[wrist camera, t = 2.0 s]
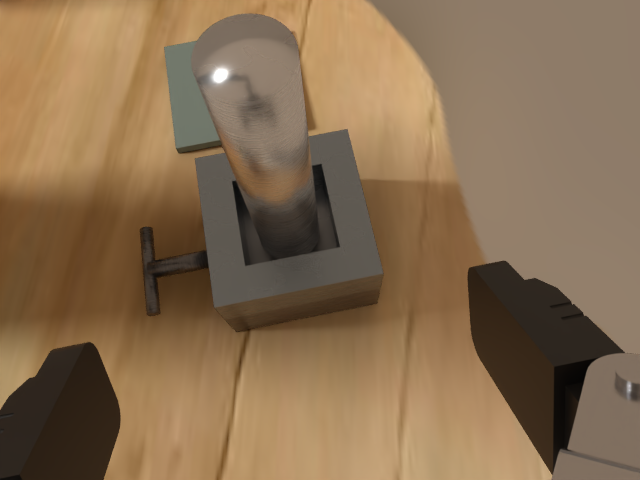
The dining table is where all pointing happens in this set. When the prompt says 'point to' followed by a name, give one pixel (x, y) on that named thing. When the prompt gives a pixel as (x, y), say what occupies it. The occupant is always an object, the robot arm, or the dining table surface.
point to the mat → (188, 102)
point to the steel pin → (262, 125)
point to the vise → (267, 271)
